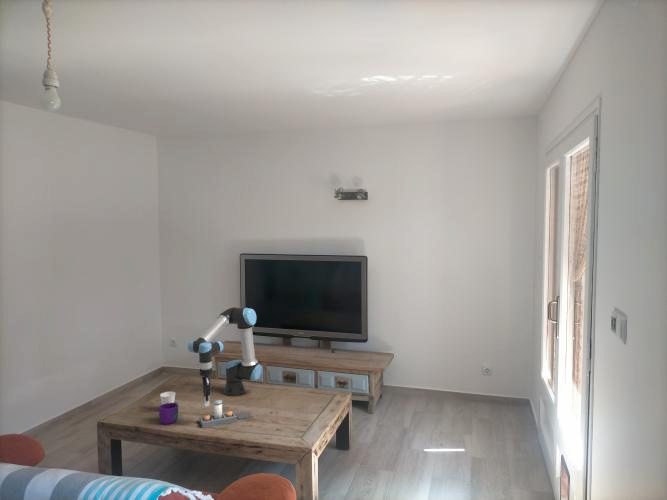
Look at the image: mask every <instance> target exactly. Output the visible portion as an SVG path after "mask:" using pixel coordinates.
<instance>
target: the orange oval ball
mask: <svg viewBox="0 0 667 500" xmlns="http://www.w3.org/2000/svg"><path fill="white" fill-rule="evenodd" d="M232 411H233V410H229V411H225V412H226V417H232Z"/></svg>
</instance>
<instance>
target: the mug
mask: <svg viewBox="0 0 667 500" xmlns="http://www.w3.org/2000/svg"><path fill="white" fill-rule="evenodd" d="M158 414H159V415H158V416H159V421H160V423H162V424H163V425H171V424H174V423H176V422H178V418H179V404H178V402H175V401H174V403H166V404H162V403H161V405H159V407H158Z"/></svg>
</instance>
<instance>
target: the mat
mask: <svg viewBox="0 0 667 500" xmlns="http://www.w3.org/2000/svg"><path fill="white" fill-rule="evenodd" d="M234 414H235V415H236V416H237V420H243V419H244V420H245V419H249V418H253V417H254V416H253V415H252V414H251V412H250V411H245V412H244V411H243V412H240V413H234Z"/></svg>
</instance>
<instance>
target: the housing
mask: <svg viewBox="0 0 667 500" xmlns="http://www.w3.org/2000/svg"><path fill="white" fill-rule="evenodd" d="M231 411H232V417H226V412H227V411H224V412H222V418H221V419H215V420H214V413H213V414H209V415H210V420H209V421H204V416H205V415H201V416H199V417H198V418H199V420H198V421H199V424H200V425H201V427H202V429H204V428H209V427H210V428H211V427H216V426H221V425H226V424H232V423H238V418H237V416H236V415H235V414H236V413H235V412H234V411H233V410H231Z"/></svg>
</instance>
